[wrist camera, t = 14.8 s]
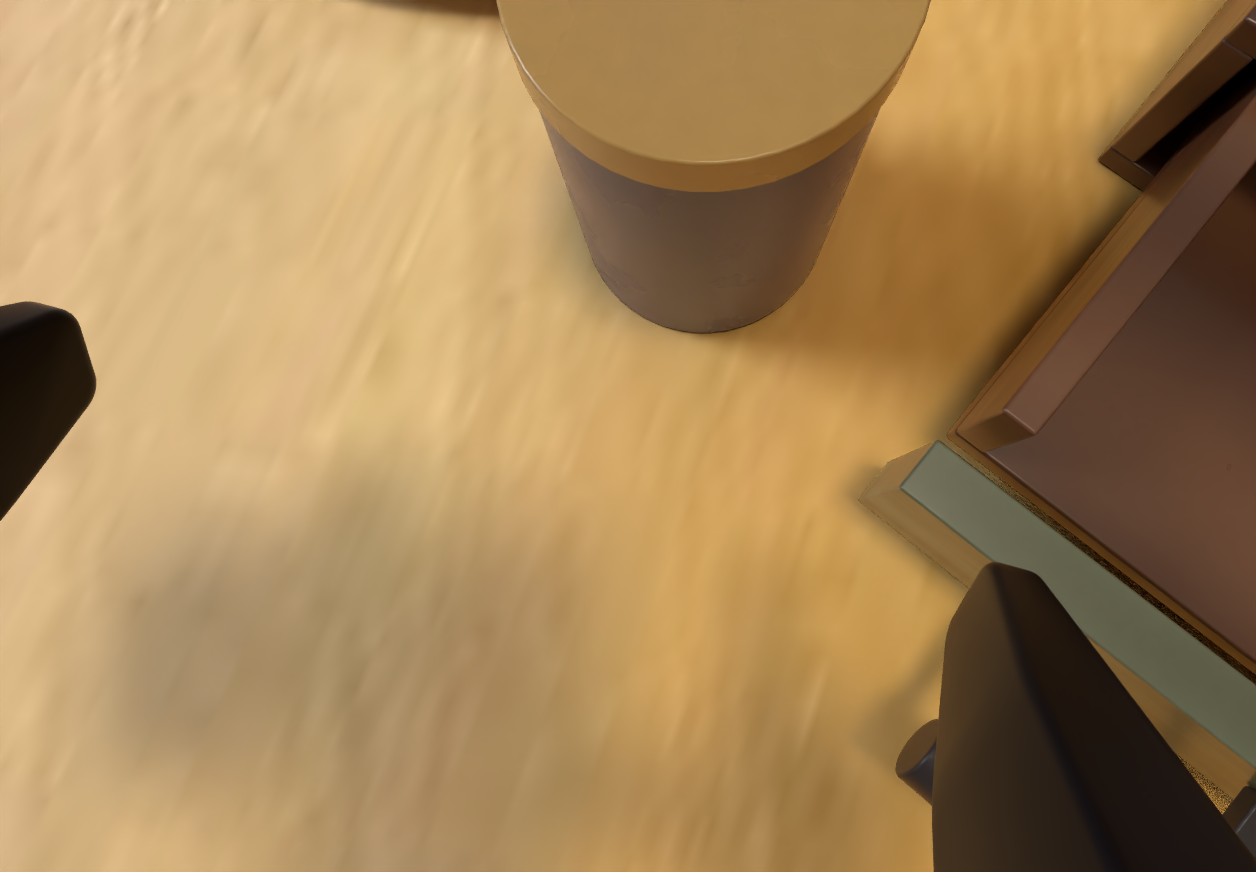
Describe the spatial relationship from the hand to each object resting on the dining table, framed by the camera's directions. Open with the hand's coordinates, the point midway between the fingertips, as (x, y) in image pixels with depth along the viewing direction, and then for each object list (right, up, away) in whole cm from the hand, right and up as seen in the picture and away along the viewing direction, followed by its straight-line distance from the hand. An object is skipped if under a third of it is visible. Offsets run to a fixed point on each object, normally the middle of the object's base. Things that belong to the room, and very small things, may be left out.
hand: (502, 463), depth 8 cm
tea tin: (+3, +6, +14) cm, 16 cm away
